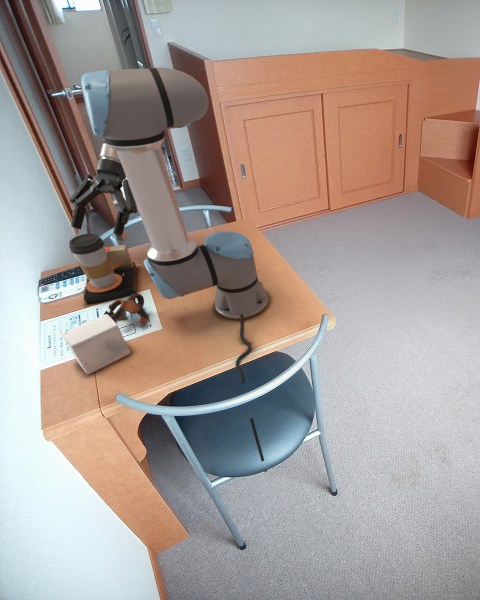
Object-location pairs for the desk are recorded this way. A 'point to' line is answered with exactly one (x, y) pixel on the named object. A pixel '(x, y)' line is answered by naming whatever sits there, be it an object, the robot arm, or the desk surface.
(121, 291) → the hotplate
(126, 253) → the cream block
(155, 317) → the desk surface
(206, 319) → the desk surface
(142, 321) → the pottery mug
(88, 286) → the warming ring
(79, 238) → the coffee cup
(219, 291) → the robot arm
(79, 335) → the cosmetics box
